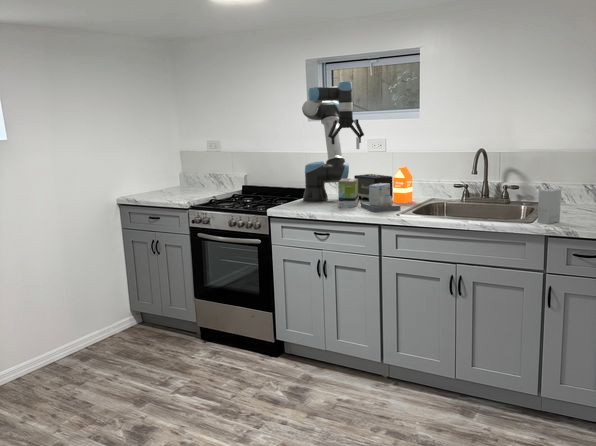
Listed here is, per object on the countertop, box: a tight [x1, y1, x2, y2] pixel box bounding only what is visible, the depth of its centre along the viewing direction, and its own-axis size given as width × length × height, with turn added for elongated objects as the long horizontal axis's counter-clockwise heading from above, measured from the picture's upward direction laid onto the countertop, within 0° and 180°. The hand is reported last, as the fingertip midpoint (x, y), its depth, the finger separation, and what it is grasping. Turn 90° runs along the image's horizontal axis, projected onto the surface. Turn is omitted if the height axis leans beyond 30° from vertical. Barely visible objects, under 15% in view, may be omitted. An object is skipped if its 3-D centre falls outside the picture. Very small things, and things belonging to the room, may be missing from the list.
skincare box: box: [537, 187, 562, 225], centre depth 246 cm, size 8×6×15 cm
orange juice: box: [392, 166, 413, 204], centre depth 319 cm, size 8×9×20 cm
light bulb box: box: [368, 183, 390, 205], centre depth 299 cm, size 11×7×11 cm, turn 136°
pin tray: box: [360, 196, 401, 213], centre depth 300 cm, size 19×15×8 cm
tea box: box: [337, 178, 359, 208], centre depth 316 cm, size 15×10×15 cm, turn 168°
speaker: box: [353, 173, 394, 200], centre depth 334 cm, size 22×13×15 cm, turn 28°
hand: (346, 149), depth 307 cm, fingers open, 13 cm apart
